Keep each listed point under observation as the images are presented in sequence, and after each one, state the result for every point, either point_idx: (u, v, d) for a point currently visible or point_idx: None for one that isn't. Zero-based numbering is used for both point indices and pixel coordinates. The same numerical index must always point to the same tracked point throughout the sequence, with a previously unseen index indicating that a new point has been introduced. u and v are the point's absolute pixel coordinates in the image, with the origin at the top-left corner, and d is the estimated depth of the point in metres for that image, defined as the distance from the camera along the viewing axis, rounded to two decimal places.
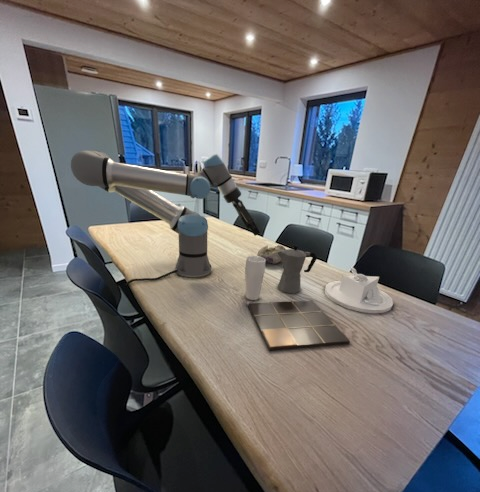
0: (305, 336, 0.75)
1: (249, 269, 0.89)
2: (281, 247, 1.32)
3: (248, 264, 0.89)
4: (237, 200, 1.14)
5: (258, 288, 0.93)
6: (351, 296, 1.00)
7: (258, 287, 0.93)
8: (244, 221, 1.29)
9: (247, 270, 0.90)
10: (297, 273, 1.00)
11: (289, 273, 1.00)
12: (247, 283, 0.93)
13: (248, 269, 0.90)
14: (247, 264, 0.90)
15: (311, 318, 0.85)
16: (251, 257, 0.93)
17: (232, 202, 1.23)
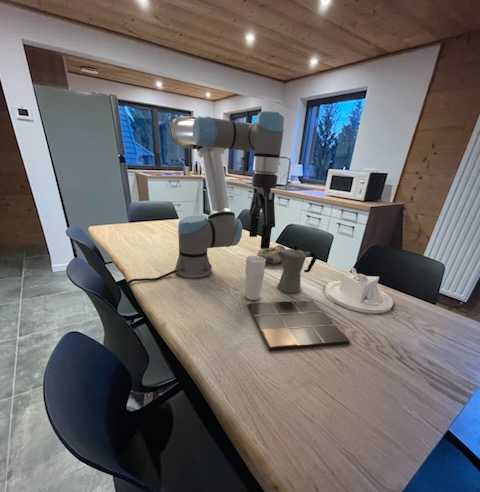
0: (305, 336, 0.75)
1: (249, 269, 0.89)
2: (281, 247, 1.32)
3: (248, 264, 0.89)
4: (268, 190, 0.78)
5: (258, 288, 0.93)
6: (351, 296, 1.00)
7: (258, 287, 0.93)
8: (252, 225, 0.92)
9: (247, 270, 0.90)
10: (297, 273, 1.00)
11: (289, 273, 1.00)
12: (247, 283, 0.93)
13: (248, 269, 0.90)
14: (247, 264, 0.90)
15: (311, 318, 0.85)
16: (251, 257, 0.93)
17: (254, 192, 0.86)
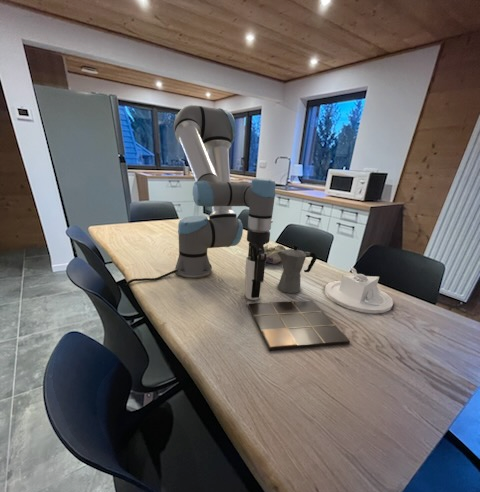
0: (305, 336, 0.75)
1: (249, 269, 0.90)
2: (281, 247, 1.32)
3: (248, 264, 0.89)
4: (261, 246, 0.85)
5: None
6: (351, 296, 1.00)
7: None
8: None
9: (247, 270, 0.90)
10: (297, 273, 1.00)
11: (289, 273, 1.00)
12: (247, 283, 0.93)
13: (248, 269, 0.90)
14: (247, 264, 0.90)
15: (311, 318, 0.85)
16: None
17: (249, 245, 0.94)
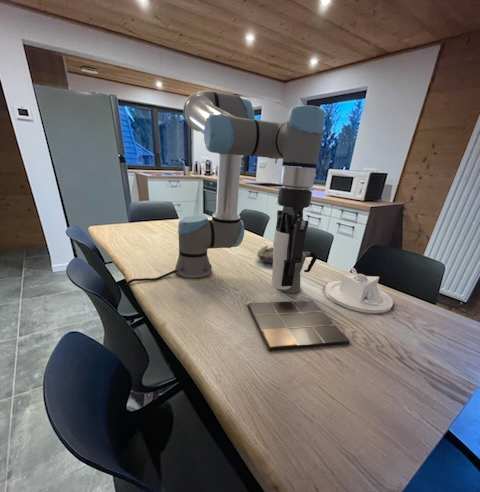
0: (305, 336, 0.75)
1: (280, 245, 0.64)
2: None
3: (279, 238, 0.63)
4: (300, 210, 0.59)
5: None
6: (351, 296, 1.00)
7: None
8: None
9: (277, 247, 0.65)
10: (297, 273, 1.00)
11: None
12: (276, 266, 0.67)
13: (278, 245, 0.64)
14: (277, 238, 0.64)
15: (311, 318, 0.85)
16: None
17: (279, 214, 0.68)
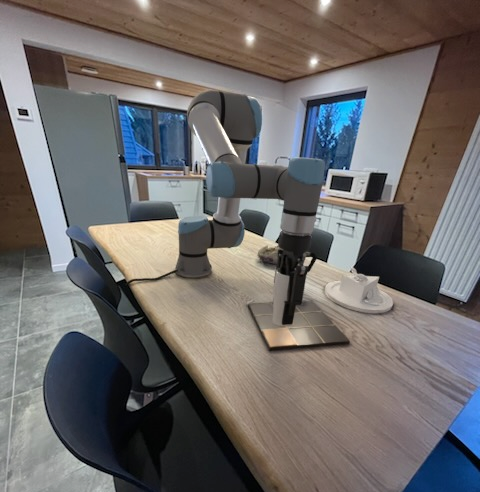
0: (305, 336, 0.75)
1: (281, 286, 0.64)
2: None
3: (279, 279, 0.64)
4: (300, 255, 0.60)
5: None
6: (351, 296, 1.00)
7: None
8: None
9: (277, 287, 0.65)
10: None
11: None
12: (276, 304, 0.68)
13: (279, 286, 0.65)
14: (278, 279, 0.65)
15: (311, 318, 0.85)
16: None
17: (279, 253, 0.69)
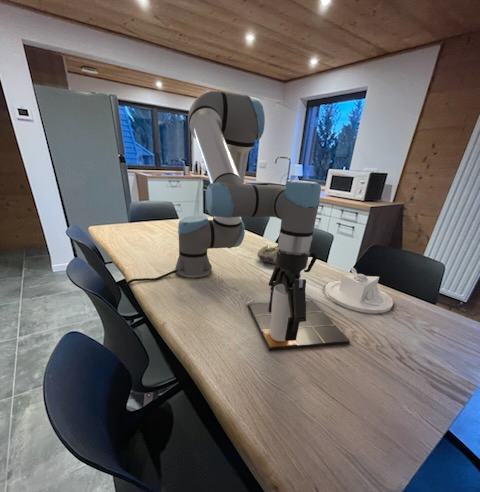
0: (305, 336, 0.75)
1: (278, 303, 0.67)
2: None
3: (277, 297, 0.66)
4: (297, 273, 0.62)
5: None
6: (351, 296, 1.00)
7: None
8: None
9: (275, 304, 0.67)
10: None
11: None
12: (274, 320, 0.70)
13: (277, 303, 0.67)
14: (275, 297, 0.67)
15: (311, 318, 0.85)
16: (279, 286, 0.70)
17: (277, 265, 0.70)
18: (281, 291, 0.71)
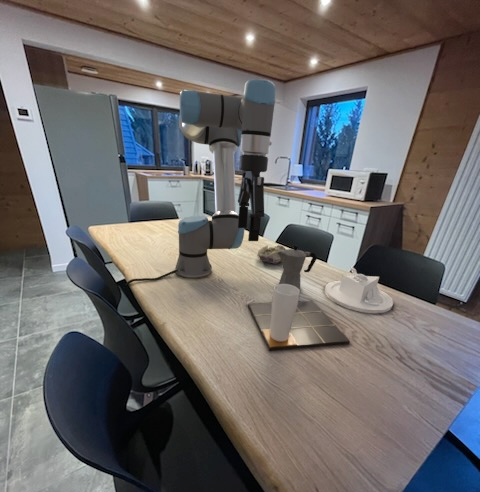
0: (305, 336, 0.75)
1: (278, 303, 0.67)
2: (281, 247, 1.32)
3: (277, 297, 0.66)
4: (257, 174, 0.68)
5: (288, 327, 0.70)
6: (351, 296, 1.00)
7: (289, 326, 0.70)
8: (240, 214, 0.82)
9: (275, 304, 0.67)
10: (297, 273, 1.00)
11: (289, 273, 1.00)
12: (274, 320, 0.70)
13: (277, 303, 0.67)
14: (275, 297, 0.67)
15: (311, 318, 0.85)
16: (279, 286, 0.70)
17: (243, 177, 0.77)
18: (281, 291, 0.71)
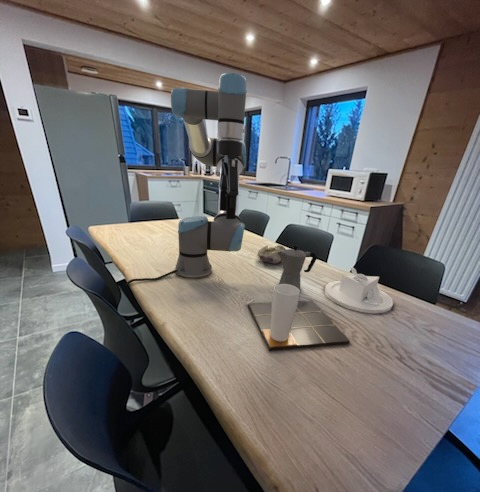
0: (305, 336, 0.75)
1: (278, 303, 0.67)
2: (281, 247, 1.32)
3: (277, 297, 0.66)
4: (232, 157, 0.76)
5: (288, 327, 0.70)
6: (351, 296, 1.00)
7: (289, 326, 0.70)
8: (221, 198, 0.90)
9: (275, 304, 0.67)
10: (297, 273, 1.00)
11: (289, 273, 1.00)
12: (274, 320, 0.70)
13: (277, 303, 0.67)
14: (275, 297, 0.67)
15: (311, 318, 0.85)
16: (279, 286, 0.70)
17: (222, 162, 0.85)
18: (281, 291, 0.71)
